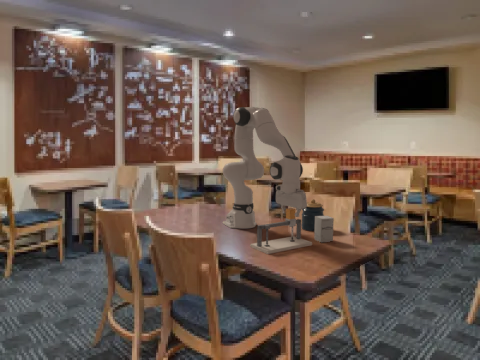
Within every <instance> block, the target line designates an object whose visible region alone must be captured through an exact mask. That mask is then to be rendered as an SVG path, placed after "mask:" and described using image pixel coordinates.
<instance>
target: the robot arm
mask: <svg viewBox="0 0 480 360" xmlns="http://www.w3.org/2000/svg"><path fill="white" fill-rule="evenodd" d="M232 117H233V118H232V119H233V121H234V124H235V129H234V152H235V154H237V155H238V156H240V157H241V158H242V161H232V162H228V163H226V164H224V166H223V168H222V174H223V177H224V179H225V180H227V181H228V182H229V183H230V185H231V186H232V189H233V195H234V196H233V198H234V199H233V200H234V203H232V209H231V210H230V211H229V212H228V213H226V220H224V221H222V224H223V225H225V226H226V227H228V228H230V229H241V230H242V229H252V228H255V227H256V225H257V224H258V223H257V222H256V215H255V210H254V207H255V206H254V202H253V201H254V197H253V196H254V194H253V193H254V192H253V190H252V188H251V187H249V186H247V185H246V184H245V181H251V180H252V181H253V180H258V179H261V178H262V177H264V174H265V167H264V165H263V164H262V163H261V162H260V161H259V160H258V159H257V156H256V155H255V151H254V129H255V132H256V136H257V137H258V139H259V141H260V142H262V143H263V144H265V145H268V146H271V147H274V148H276V149H277V150H279V151H280V153H281V154H282V159H280V160H278V161H273V162H272V163H271V165H270V166H269V174H270V177H271V178H272V179H273V180H276V181H281V182H282V184H279V185H276V186H275V191H276V192H275V202H276V204H277V205H280V208H281V210H282V214H283V215H286V209H287V207H289V208H294V209H296V213H295V218H299V217H300V213H301V212H302V209H306V207H307V202H308V201H307V195H306V192H305V191H304V189H301V179H300V178H301V177H302V175H303V172H304V168H303V165H302V163H301V162H300V158H299V157H298V156H296V155H295V152H294V151H293V149H292V146H291V145H290V143H289V141H288V140H287V138H286V137H285V135H284V134H282V132H280V130H279V129H278V127H277V125H276V123H275V119H274V118H273V117H272V114H271V112H270V111H269V110H268V109H267V108H264V107H259V106H257V107H256V106H249V107H244V106H243V107H242V106H241V107H238V108H236V109H235V110H234V112H233V114H232Z"/></svg>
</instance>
